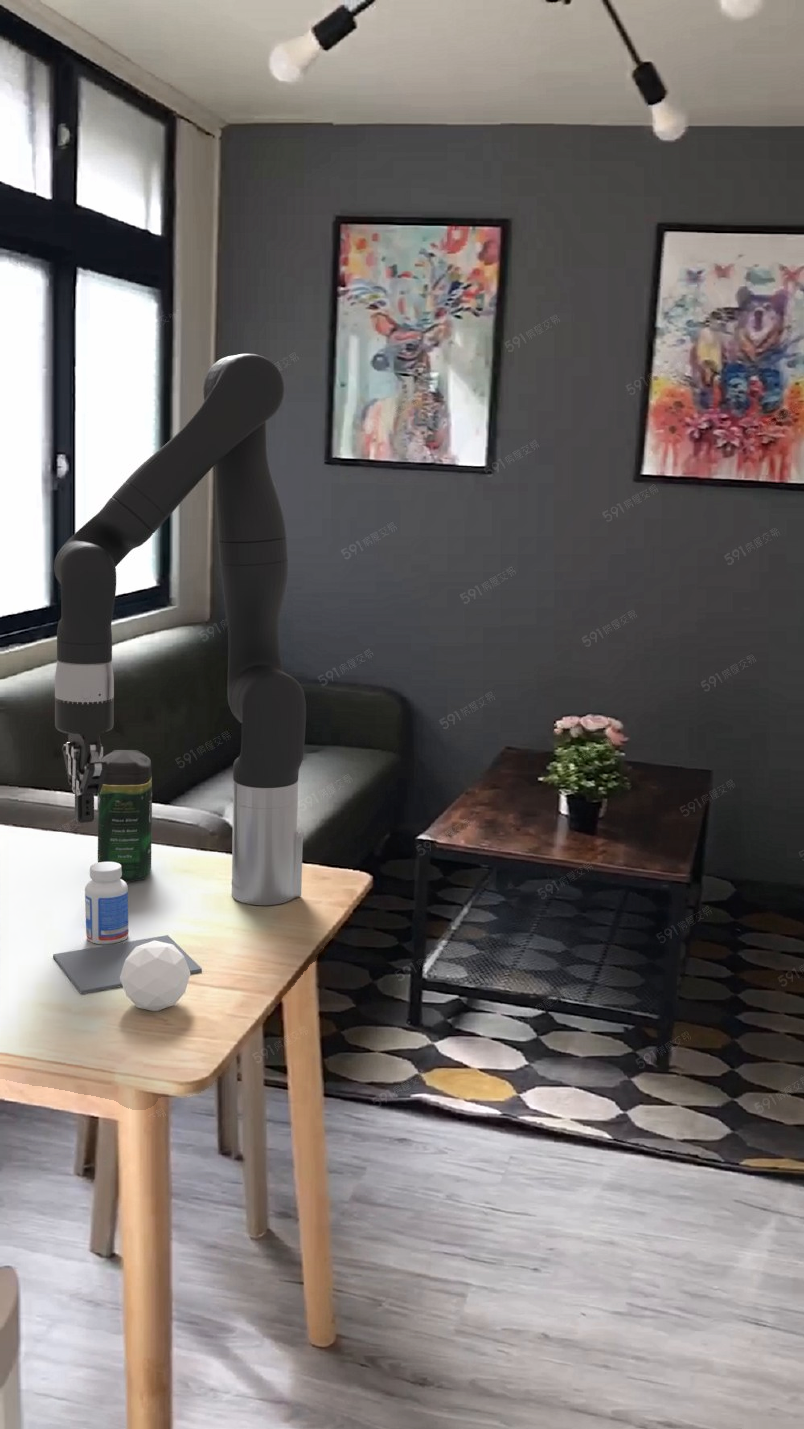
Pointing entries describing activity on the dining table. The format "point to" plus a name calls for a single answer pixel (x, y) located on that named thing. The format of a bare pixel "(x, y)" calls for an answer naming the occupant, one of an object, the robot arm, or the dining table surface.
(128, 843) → the coffee jar
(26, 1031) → the dining table surface
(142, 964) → the geometric ball
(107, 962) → the mat
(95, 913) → the pill bottle
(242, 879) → the robot arm
